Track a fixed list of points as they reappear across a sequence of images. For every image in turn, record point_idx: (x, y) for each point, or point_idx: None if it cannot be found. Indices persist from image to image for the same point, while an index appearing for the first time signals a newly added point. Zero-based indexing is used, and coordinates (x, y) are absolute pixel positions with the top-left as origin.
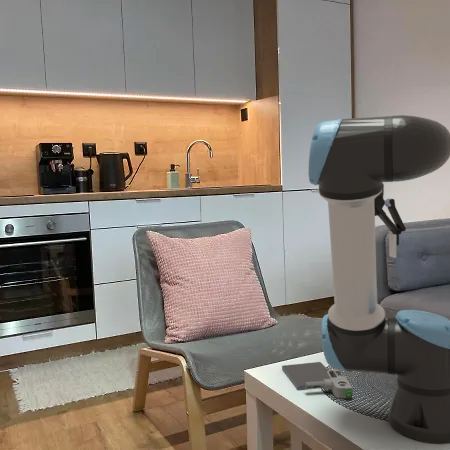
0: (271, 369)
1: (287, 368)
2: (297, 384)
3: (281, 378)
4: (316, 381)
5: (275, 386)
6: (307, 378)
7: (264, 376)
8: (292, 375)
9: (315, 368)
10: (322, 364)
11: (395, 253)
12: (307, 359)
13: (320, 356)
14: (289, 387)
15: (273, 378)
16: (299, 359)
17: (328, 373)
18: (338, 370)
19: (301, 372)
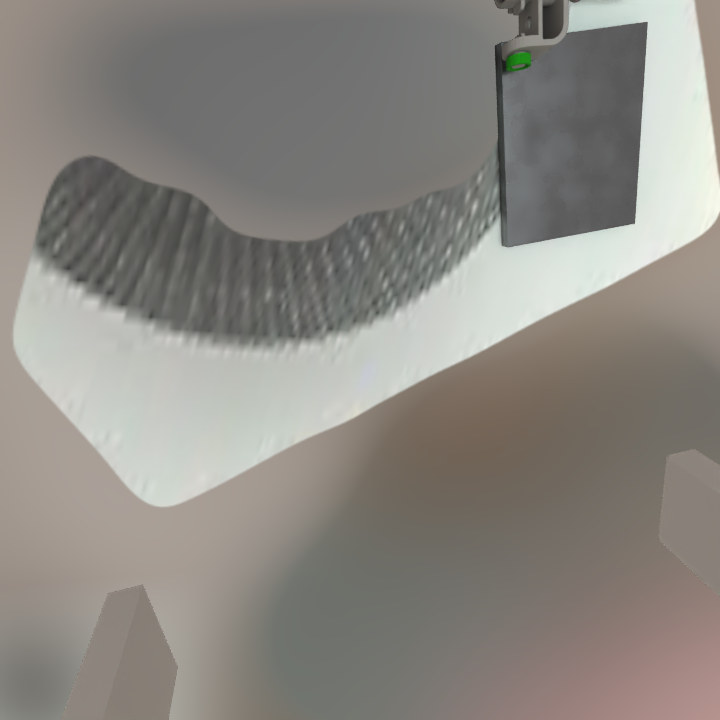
0: (655, 225)
1: (626, 195)
2: (643, 38)
3: (652, 142)
4: (576, 57)
5: (690, 73)
6: (595, 92)
7: (693, 166)
8: (632, 127)
9: (541, 185)
10: (508, 220)
11: (104, 637)
12: (525, 303)
13: (477, 326)
14: (653, 56)
15: (674, 145)
16: (549, 304)
17: (566, 16)
18: (521, 42)
19: (596, 152)
